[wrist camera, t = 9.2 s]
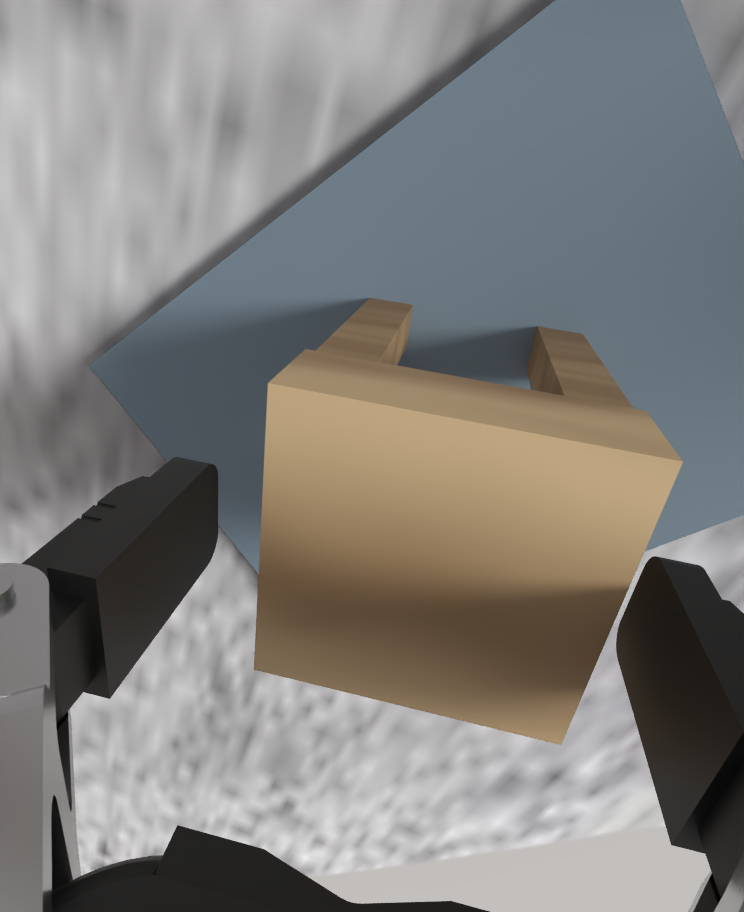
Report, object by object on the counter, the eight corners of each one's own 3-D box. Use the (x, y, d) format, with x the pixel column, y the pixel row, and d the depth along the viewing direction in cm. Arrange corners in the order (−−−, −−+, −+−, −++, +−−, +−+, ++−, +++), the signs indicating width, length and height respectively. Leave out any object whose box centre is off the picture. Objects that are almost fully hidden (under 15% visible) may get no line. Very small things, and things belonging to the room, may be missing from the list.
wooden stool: (367, 293, 15) (268, 382, 8) (587, 330, 15) (683, 461, 8) (343, 481, 18) (253, 669, 11) (529, 519, 18) (560, 744, 10)
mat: (338, 648, 23) (333, 666, 22) (107, 357, 19) (88, 365, 18) (841, 454, 16) (862, 470, 15) (639, -56, 12) (651, -75, 11)
